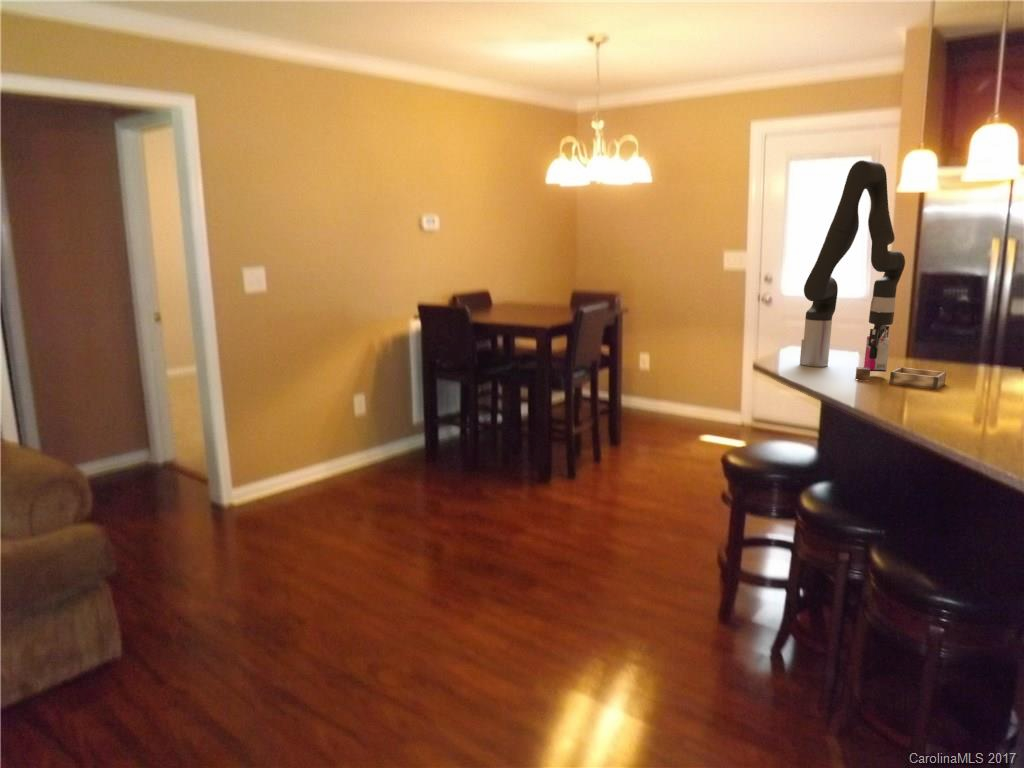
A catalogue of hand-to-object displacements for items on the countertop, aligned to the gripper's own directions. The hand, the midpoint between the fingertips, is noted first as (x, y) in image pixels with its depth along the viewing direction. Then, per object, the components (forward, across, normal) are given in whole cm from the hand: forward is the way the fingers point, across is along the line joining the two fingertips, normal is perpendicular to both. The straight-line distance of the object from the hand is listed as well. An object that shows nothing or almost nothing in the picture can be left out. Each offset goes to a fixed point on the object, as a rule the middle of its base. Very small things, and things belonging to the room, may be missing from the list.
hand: (876, 356), depth 260 cm
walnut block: (+7, +9, -1) cm, 11 cm away
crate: (+7, +5, +15) cm, 17 cm away
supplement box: (+5, 0, 0) cm, 5 cm away
